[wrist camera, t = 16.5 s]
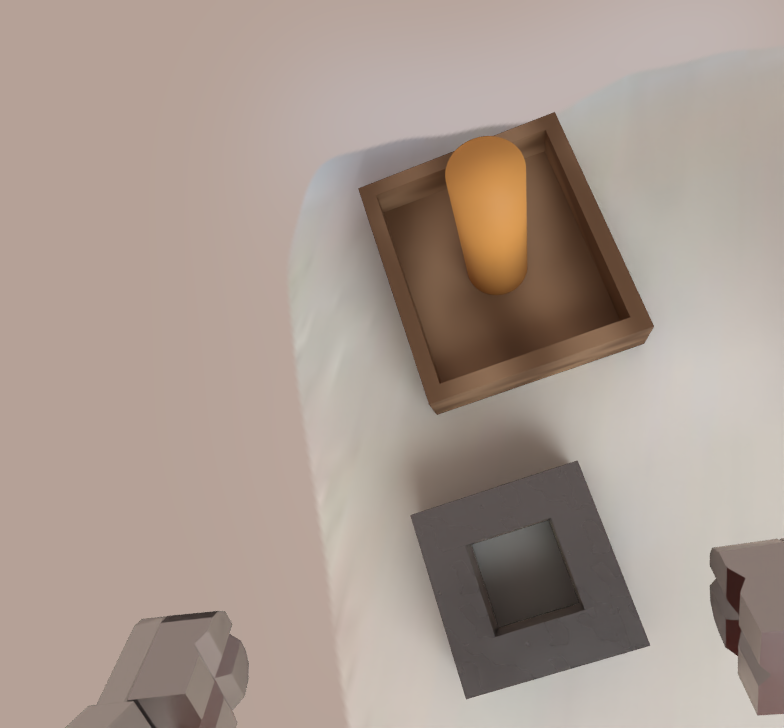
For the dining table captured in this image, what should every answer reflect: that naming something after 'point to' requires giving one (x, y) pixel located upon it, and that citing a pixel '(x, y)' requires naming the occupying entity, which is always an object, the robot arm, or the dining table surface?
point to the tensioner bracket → (540, 633)
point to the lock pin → (490, 211)
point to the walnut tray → (519, 307)
